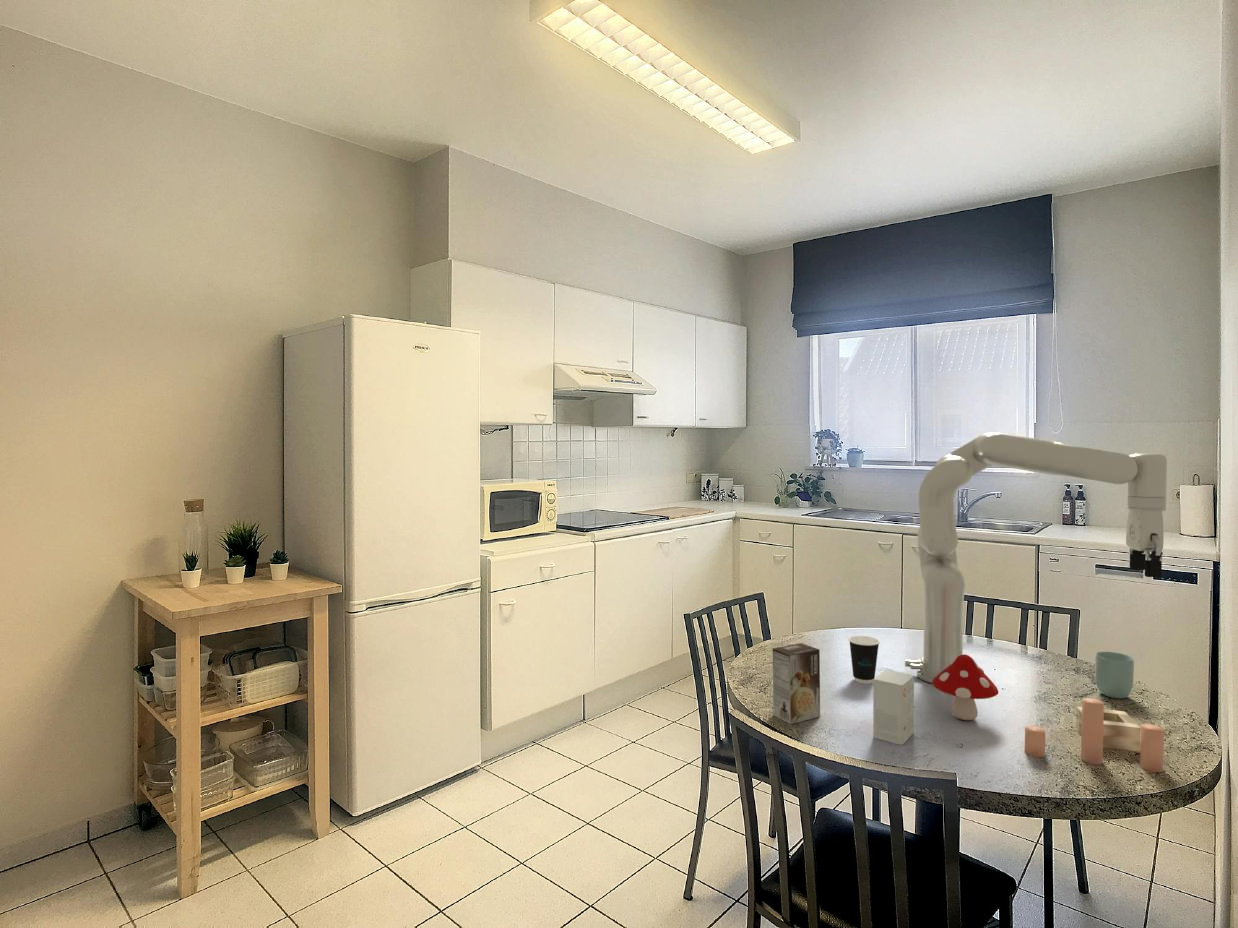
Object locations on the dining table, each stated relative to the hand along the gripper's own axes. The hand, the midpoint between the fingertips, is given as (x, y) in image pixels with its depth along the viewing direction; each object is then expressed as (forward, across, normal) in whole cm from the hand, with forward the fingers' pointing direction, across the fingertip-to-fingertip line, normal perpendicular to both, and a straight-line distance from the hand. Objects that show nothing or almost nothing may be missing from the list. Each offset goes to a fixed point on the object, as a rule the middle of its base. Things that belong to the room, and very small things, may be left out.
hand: (1144, 573), depth 169 cm
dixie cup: (+31, +8, -65) cm, 73 cm away
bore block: (+31, +30, -16) cm, 46 cm away
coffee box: (+32, +38, -80) cm, 94 cm away
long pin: (+31, +42, -22) cm, 57 cm away
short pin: (+31, +42, -32) cm, 61 cm away
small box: (+32, +42, -59) cm, 79 cm away
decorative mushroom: (+31, +27, -43) cm, 60 cm away
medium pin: (+31, +42, -12) cm, 54 cm away
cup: (+31, 0, -6) cm, 32 cm away
